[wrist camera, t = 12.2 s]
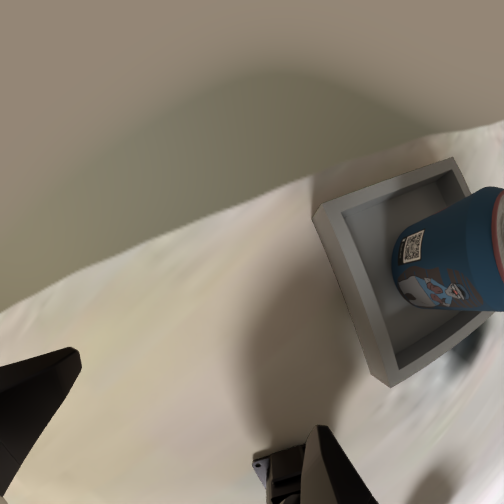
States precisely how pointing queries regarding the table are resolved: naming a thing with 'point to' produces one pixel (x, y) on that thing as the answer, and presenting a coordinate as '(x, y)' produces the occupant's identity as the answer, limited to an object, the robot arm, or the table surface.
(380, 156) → the table surface
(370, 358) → the tray
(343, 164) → the table surface
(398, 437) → the table surface
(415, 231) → the soda can
